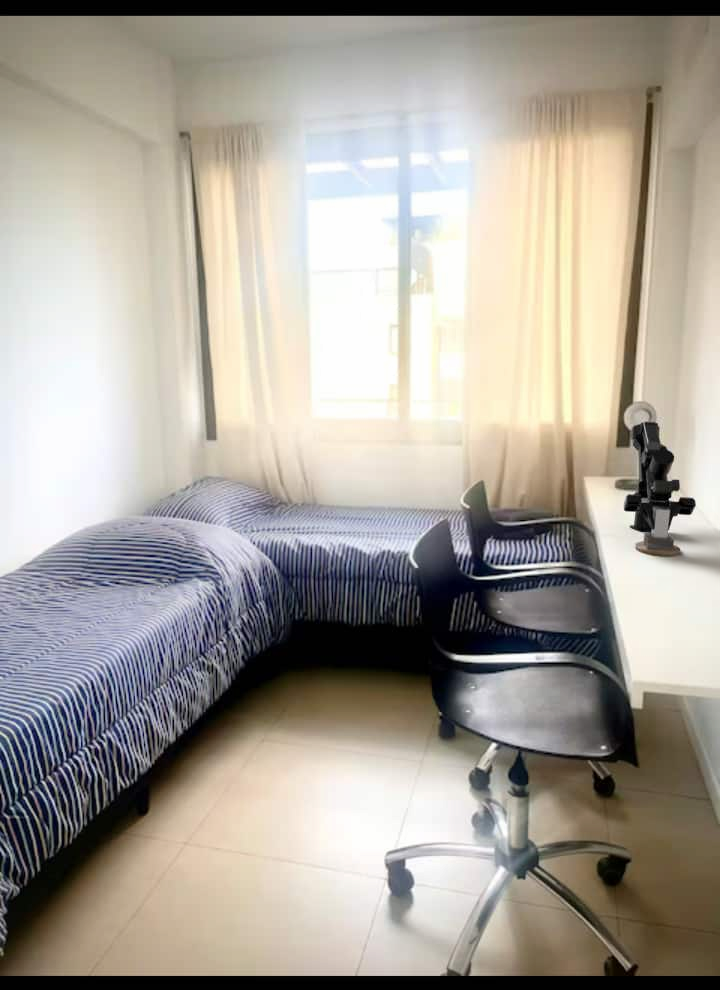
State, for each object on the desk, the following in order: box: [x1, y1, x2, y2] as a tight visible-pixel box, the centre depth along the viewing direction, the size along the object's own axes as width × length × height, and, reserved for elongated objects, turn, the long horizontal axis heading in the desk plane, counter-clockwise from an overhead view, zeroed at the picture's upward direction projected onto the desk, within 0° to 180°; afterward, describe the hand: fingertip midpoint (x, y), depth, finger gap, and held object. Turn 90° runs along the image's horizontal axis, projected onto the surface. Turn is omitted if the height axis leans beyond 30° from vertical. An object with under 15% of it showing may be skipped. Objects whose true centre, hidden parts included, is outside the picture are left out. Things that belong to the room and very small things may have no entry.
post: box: [650, 507, 670, 539], centre depth 199 cm, size 4×4×11 cm
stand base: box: [635, 532, 681, 557], centre depth 200 cm, size 12×12×4 cm
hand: (660, 529), depth 197 cm, fingers closed on post, 4 cm apart
